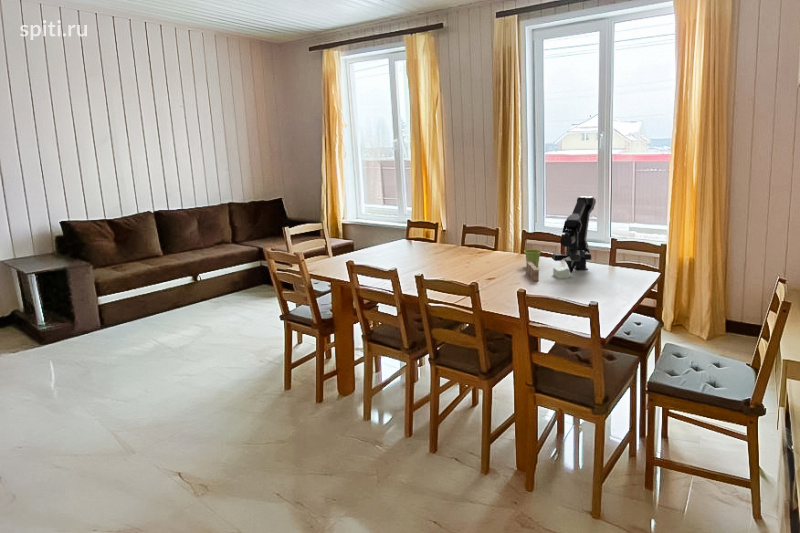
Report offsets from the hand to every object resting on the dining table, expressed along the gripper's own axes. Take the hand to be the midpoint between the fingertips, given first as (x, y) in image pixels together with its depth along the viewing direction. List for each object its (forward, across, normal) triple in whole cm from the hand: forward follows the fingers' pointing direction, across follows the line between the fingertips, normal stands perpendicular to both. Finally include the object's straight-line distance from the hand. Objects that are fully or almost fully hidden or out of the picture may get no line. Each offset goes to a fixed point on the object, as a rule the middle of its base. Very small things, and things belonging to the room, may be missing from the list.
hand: (571, 272), depth 295 cm
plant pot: (+2, -15, +23) cm, 28 cm away
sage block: (+2, -5, 0) cm, 5 cm away
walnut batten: (+2, -20, 0) cm, 20 cm away
